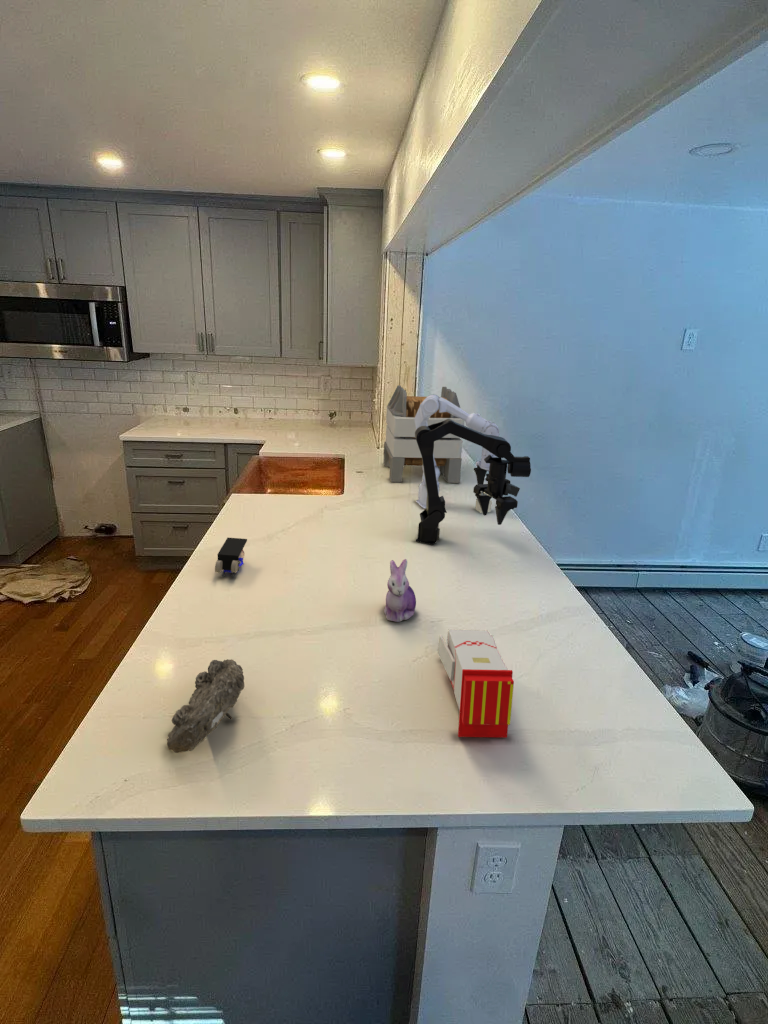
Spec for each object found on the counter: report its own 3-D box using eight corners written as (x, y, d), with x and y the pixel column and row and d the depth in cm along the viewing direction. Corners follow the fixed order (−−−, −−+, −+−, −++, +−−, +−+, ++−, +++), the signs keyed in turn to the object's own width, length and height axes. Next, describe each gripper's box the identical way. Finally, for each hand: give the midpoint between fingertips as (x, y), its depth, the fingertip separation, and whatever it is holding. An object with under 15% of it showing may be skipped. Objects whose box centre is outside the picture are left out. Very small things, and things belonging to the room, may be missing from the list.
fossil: (192, 660, 117) (244, 628, 112) (224, 691, 120) (276, 661, 115) (142, 746, 98) (202, 712, 93) (182, 779, 101) (242, 748, 96)
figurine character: (238, 584, 162) (249, 557, 175) (236, 562, 158) (247, 536, 172) (215, 584, 161) (227, 556, 175) (212, 561, 158) (225, 535, 171)
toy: (488, 613, 130) (523, 677, 101) (484, 667, 133) (517, 744, 104) (435, 612, 130) (455, 676, 101) (432, 666, 133) (451, 743, 103)
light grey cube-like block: (490, 511, 226) (492, 501, 225) (480, 512, 224) (482, 502, 223) (484, 508, 230) (486, 497, 229) (475, 509, 228) (476, 498, 227)
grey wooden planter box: (382, 463, 289) (386, 382, 275) (445, 464, 293) (451, 384, 279) (390, 482, 257) (394, 392, 243) (460, 483, 261) (468, 394, 247)
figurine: (392, 627, 141) (395, 572, 136) (374, 608, 149) (376, 556, 144) (425, 619, 145) (429, 566, 140) (405, 601, 154) (408, 550, 149)
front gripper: (534, 482, 183) (528, 527, 188) (502, 467, 199) (497, 508, 204) (505, 484, 179) (499, 530, 184) (474, 469, 195) (470, 511, 200)
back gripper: (508, 458, 215) (504, 492, 219) (487, 449, 227) (484, 482, 232) (492, 459, 212) (488, 494, 217) (472, 450, 225) (469, 483, 229)
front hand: (492, 519), depth 193 cm, fingers open, 9 cm apart
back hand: (485, 488), depth 224 cm, fingers open, 7 cm apart
